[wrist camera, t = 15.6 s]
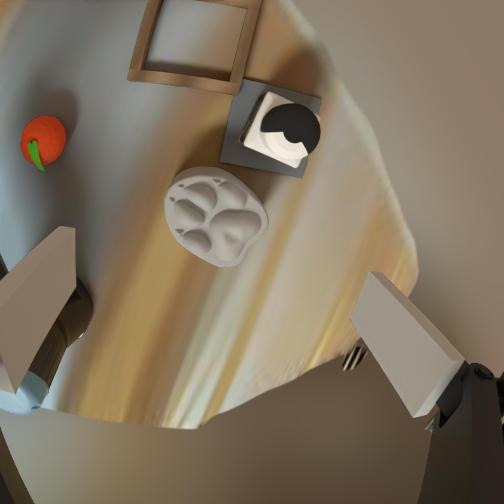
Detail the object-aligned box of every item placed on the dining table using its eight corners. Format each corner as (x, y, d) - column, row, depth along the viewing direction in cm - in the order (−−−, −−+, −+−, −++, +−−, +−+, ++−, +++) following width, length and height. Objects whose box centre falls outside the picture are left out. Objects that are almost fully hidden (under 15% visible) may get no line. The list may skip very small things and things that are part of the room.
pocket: (130, 81, 36) (126, 79, 35) (156, -12, 31) (154, -17, 29) (237, 96, 39) (238, 95, 38) (260, 3, 34) (262, -2, 32)
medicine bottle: (258, 95, 39) (277, 85, 28) (304, 116, 41) (338, 117, 30) (237, 141, 41) (248, 148, 31) (283, 161, 43) (310, 176, 33)
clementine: (79, 160, 39) (59, 168, 33) (42, 173, 39) (19, 183, 33) (69, 108, 36) (47, 108, 30) (31, 124, 36) (6, 127, 29)
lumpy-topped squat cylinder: (225, 255, 49) (230, 282, 41) (153, 207, 44) (143, 226, 36) (268, 201, 46) (282, 219, 38) (196, 148, 42) (193, 154, 34)
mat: (219, 161, 43) (219, 161, 42) (237, 78, 38) (237, 77, 38) (301, 177, 45) (302, 178, 45) (319, 99, 41) (321, 99, 40)
